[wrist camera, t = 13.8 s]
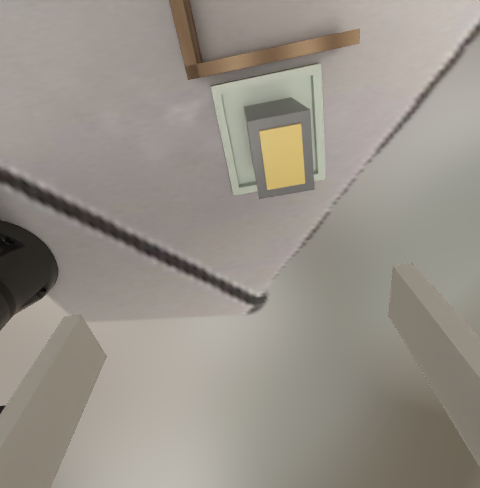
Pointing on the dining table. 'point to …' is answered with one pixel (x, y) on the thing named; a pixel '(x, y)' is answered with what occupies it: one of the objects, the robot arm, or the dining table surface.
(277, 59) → the bay
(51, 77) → the dining table surface
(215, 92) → the tray
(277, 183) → the grey box yellow panel
